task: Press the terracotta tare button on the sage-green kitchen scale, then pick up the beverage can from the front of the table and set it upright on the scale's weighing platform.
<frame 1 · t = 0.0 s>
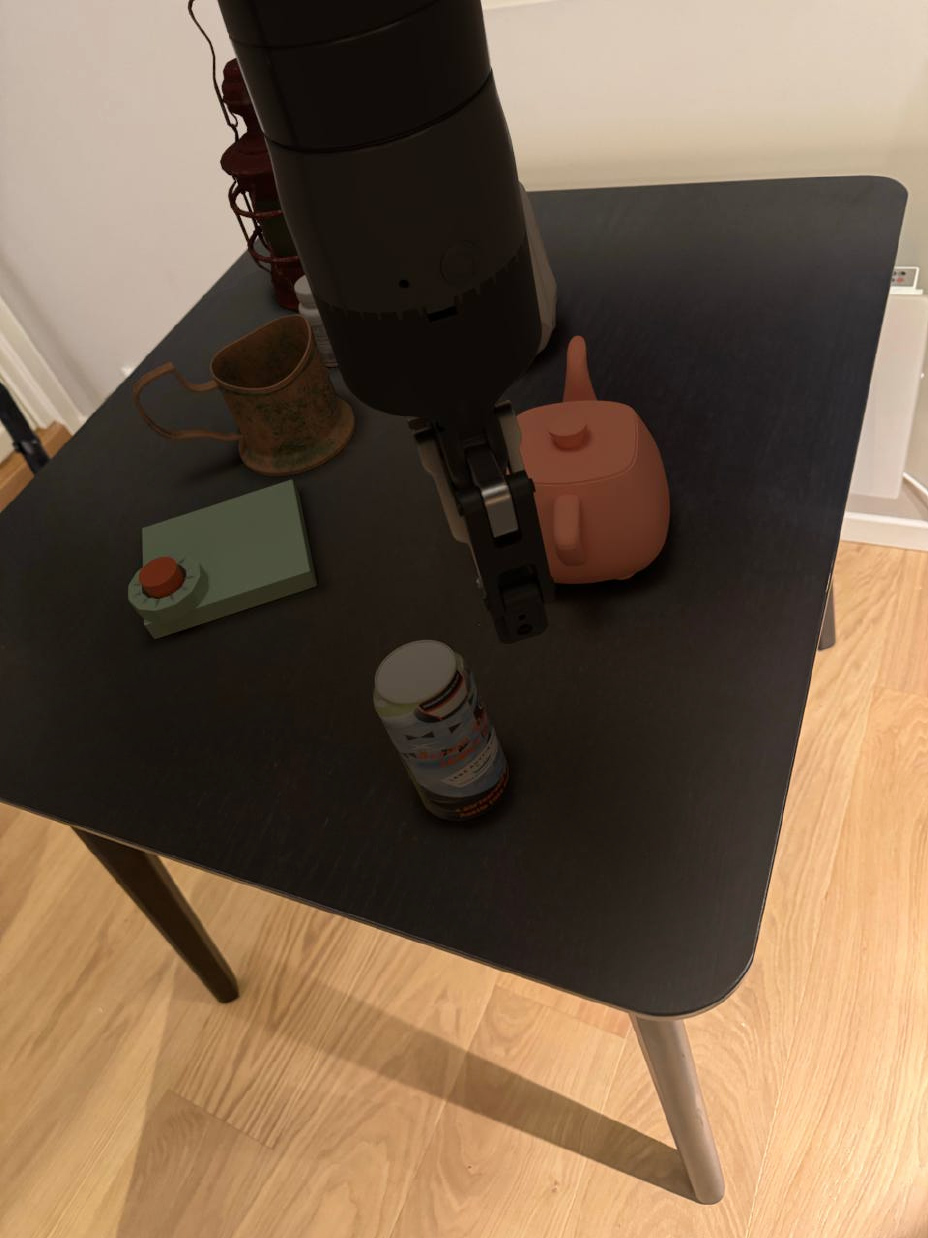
hand: (497, 566, 43), 22 cm above the table, tool pointing down, fingers open, 8 cm apart
pill bottle: (340, 355, 98), on the table
teapot: (585, 536, 74), on the table
beverage can: (463, 783, 62), on the table
tare button: (161, 577, 75), point 4 cm above the table, slide at 0.1 cm
vase: (493, 345, 93), on the table
mug: (269, 450, 90), on the table
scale: (230, 563, 80), on the table
lantern: (320, 286, 107), on the table
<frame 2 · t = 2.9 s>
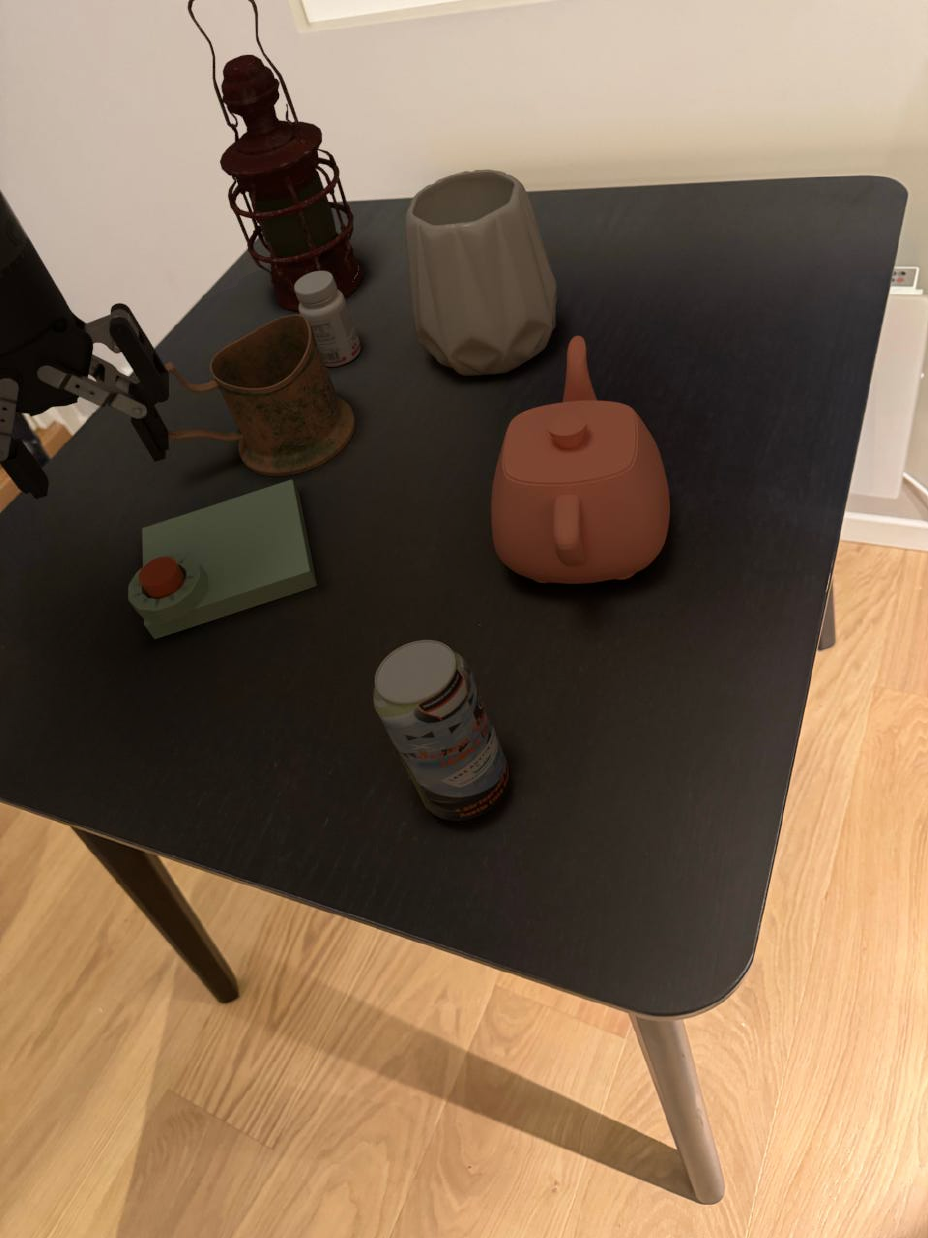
hand: (101, 472, 64), 16 cm above the table, tool pointing down, fingers open, 8 cm apart
nothing on the table moved.
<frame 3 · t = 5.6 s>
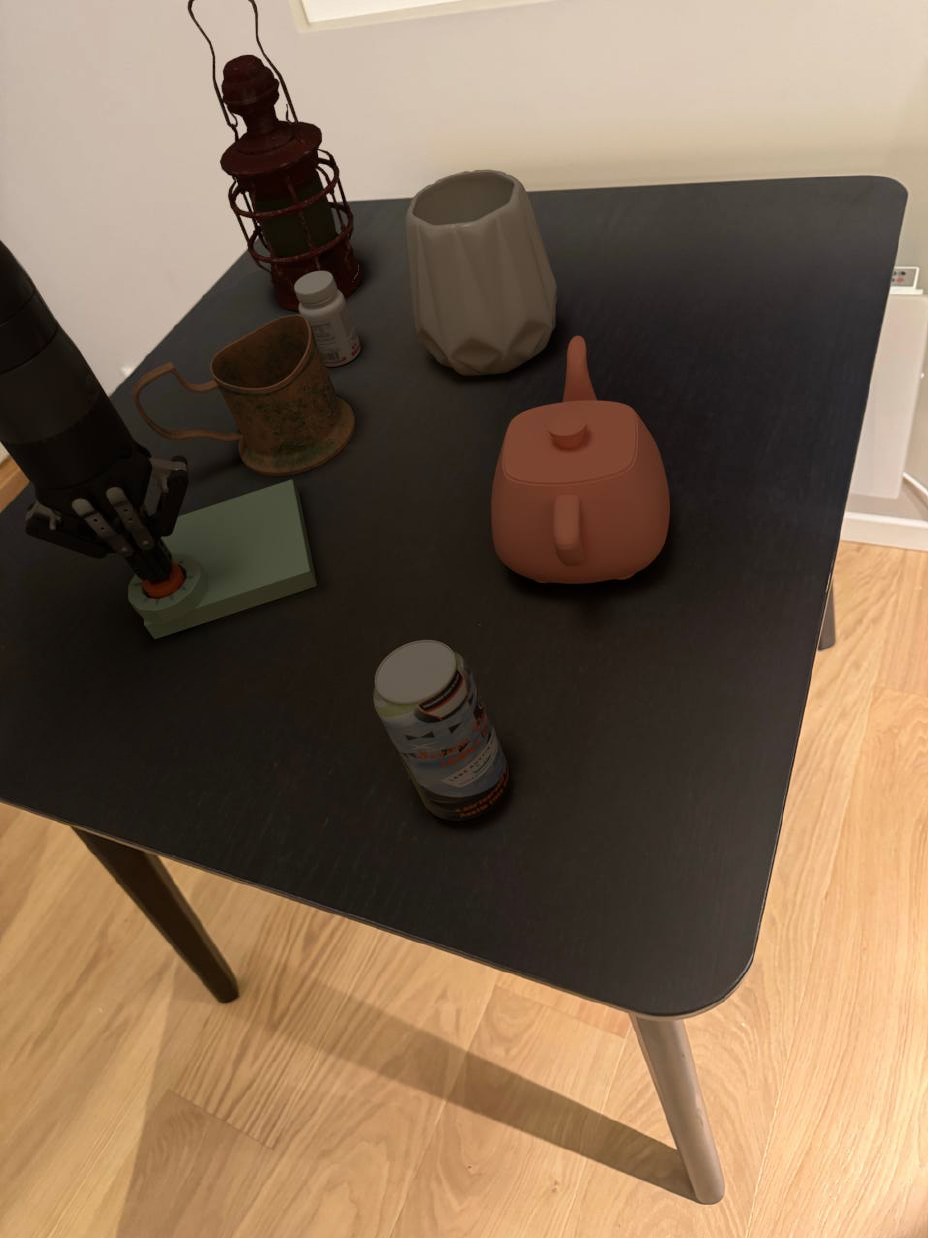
hand: (160, 574, 75), 4 cm above the table, tool pointing down, fingers closed
tare button: (164, 582, 75), point 3 cm above the table, slide at -0.5 cm, touching gripper
everything else where it was.
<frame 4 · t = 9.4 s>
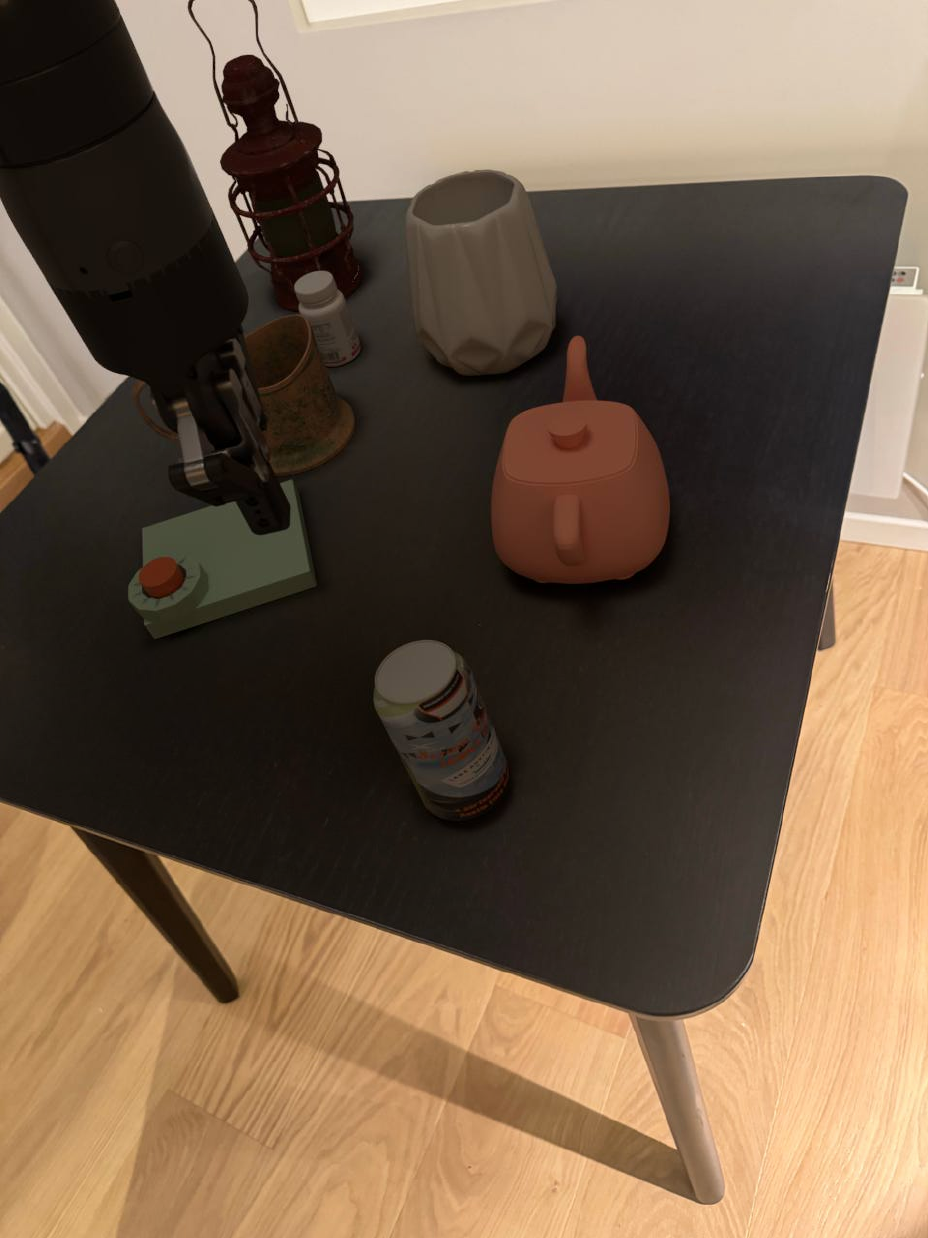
hand: (273, 523, 52), 20 cm above the table, tool pointing down, fingers closed
tare button: (161, 577, 75), point 4 cm above the table, slide at 0.1 cm
everything else where it was.
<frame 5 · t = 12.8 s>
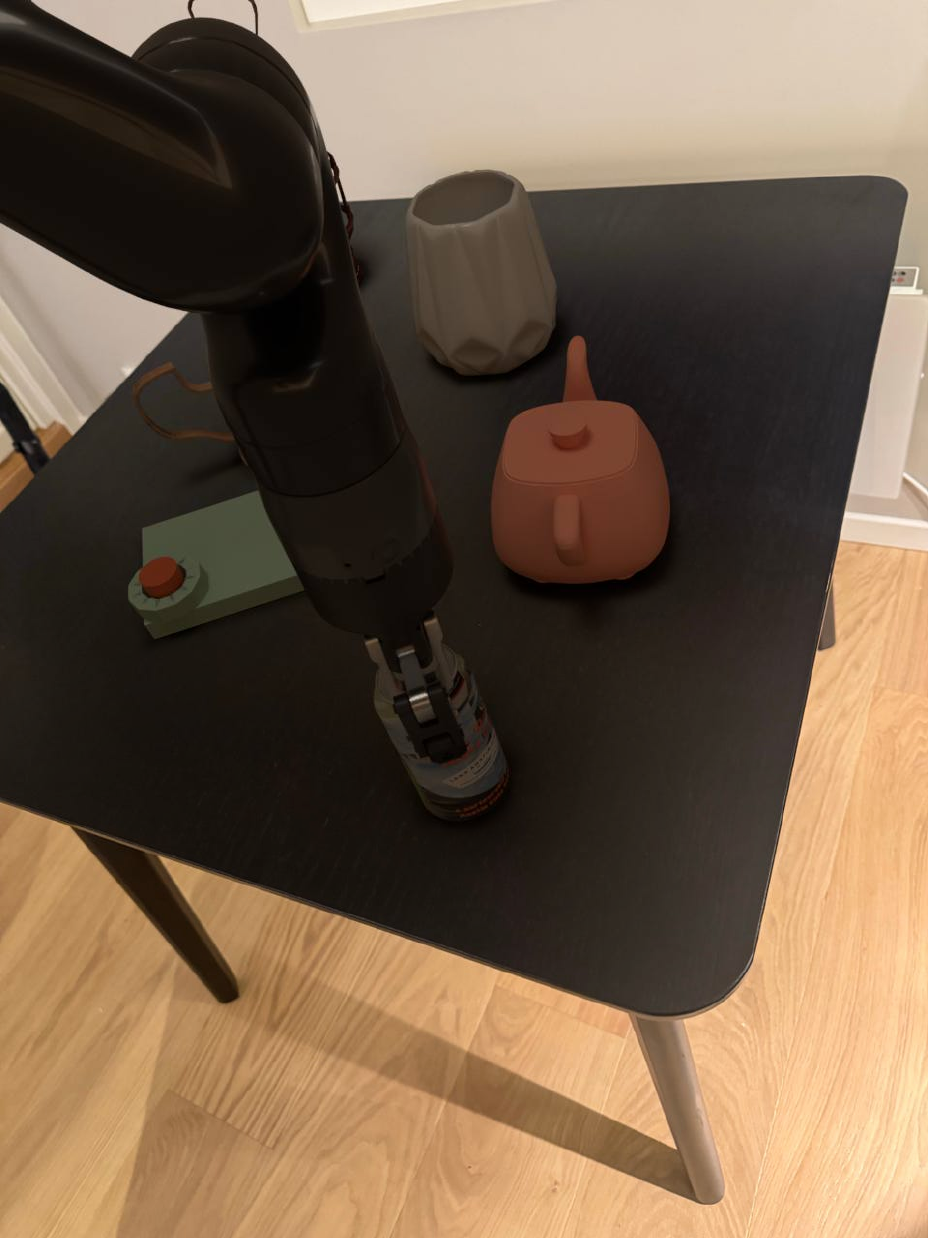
hand: (436, 709, 56), 8 cm above the table, tool pointing down, fingers closed on beverage can, 6 cm apart
beverage can: (463, 783, 62), on the table, touching gripper
everything else where it was.
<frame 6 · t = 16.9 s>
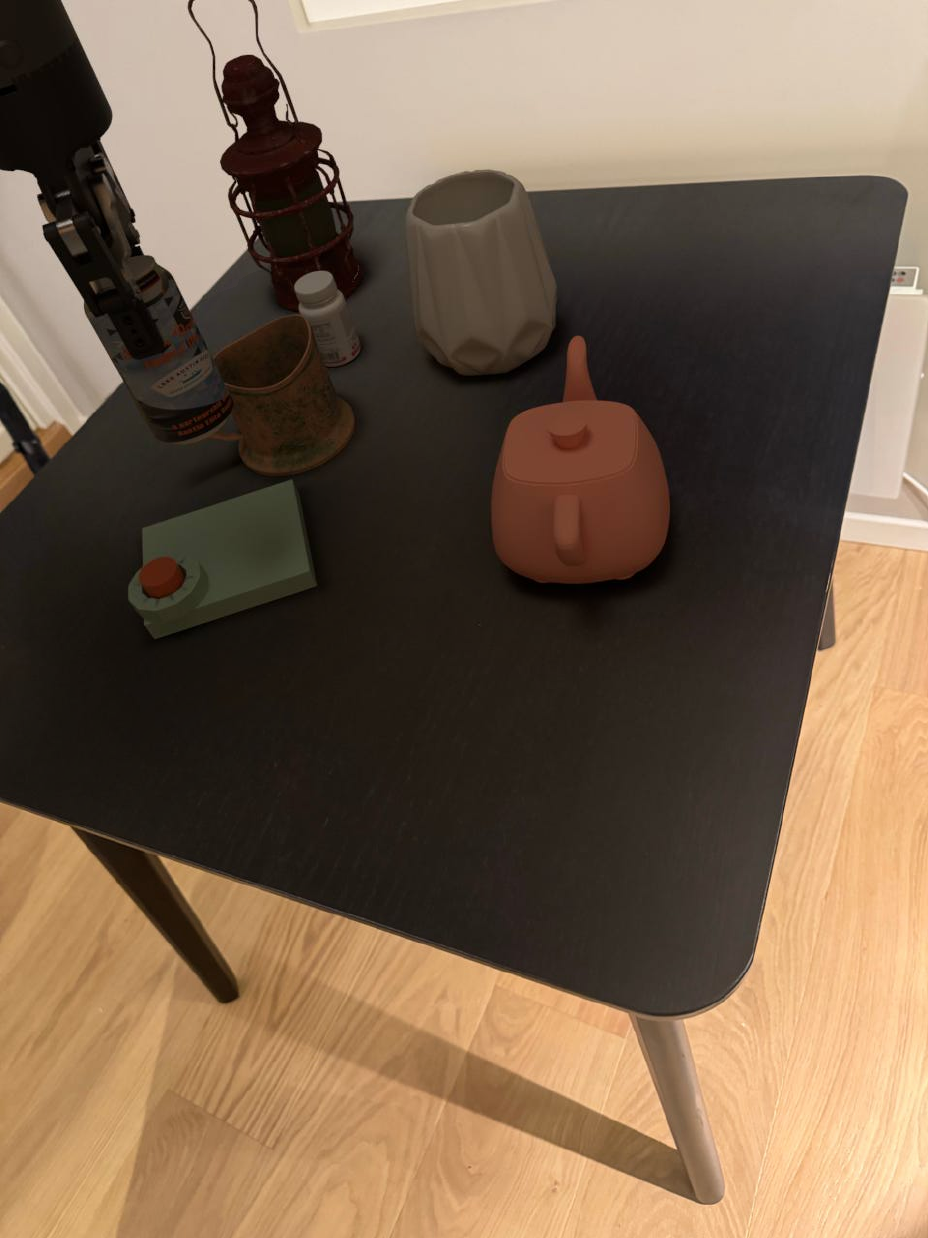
hand: (149, 326, 62), 23 cm above the table, tool pointing down, fingers closed on beverage can, 6 cm apart
beverage can: (198, 427, 67), point 15 cm above the table, touching gripper
everything else where it was.
when the fingers open (10 cm above the table, at t = 20.9 s): beverage can stays where it is, resting on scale.
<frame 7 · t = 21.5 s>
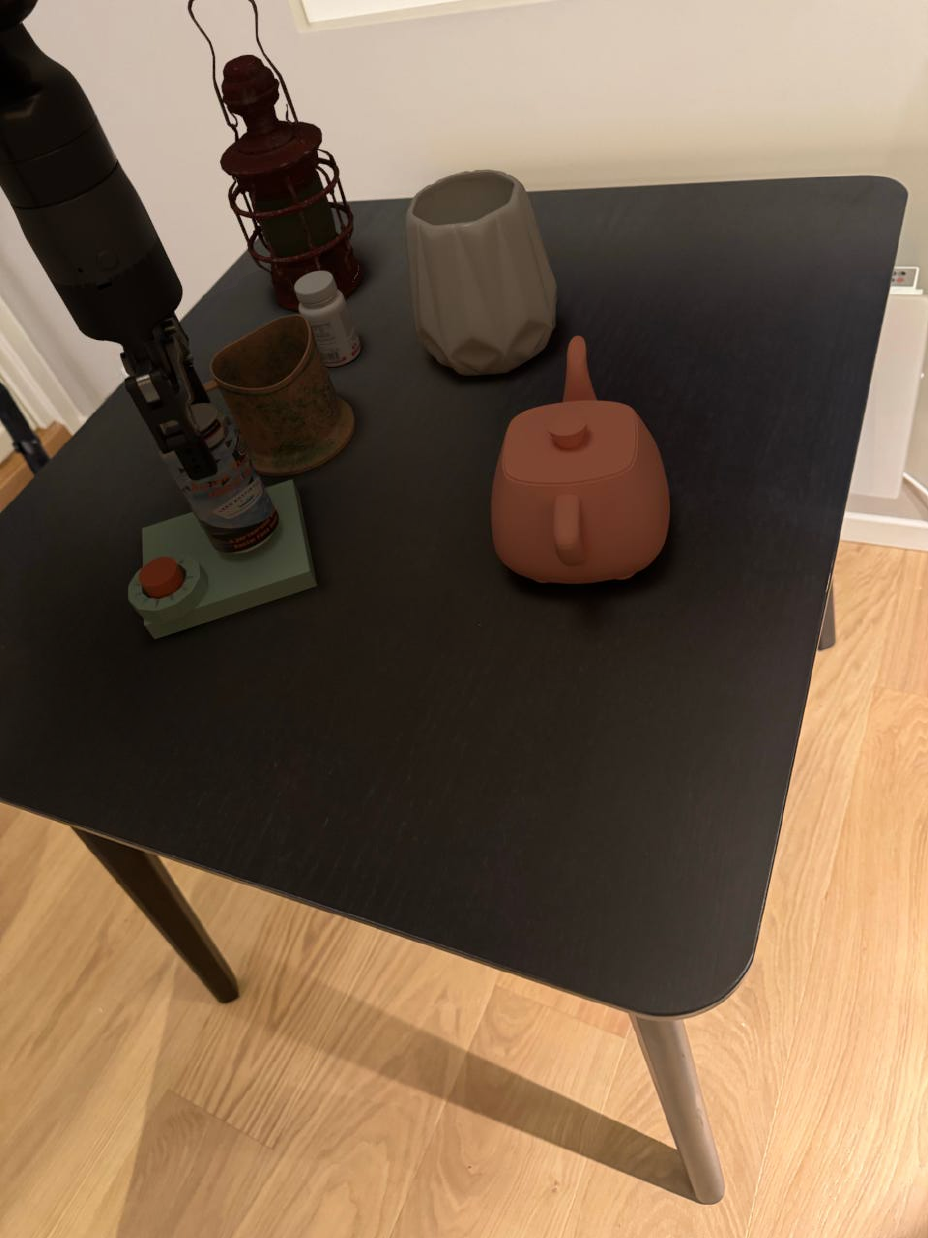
hand: (202, 441, 73), 11 cm above the table, tool pointing down, fingers open, 8 cm apart
beverage can: (248, 535, 79), point 2 cm above the table, touching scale
everything else where it was.
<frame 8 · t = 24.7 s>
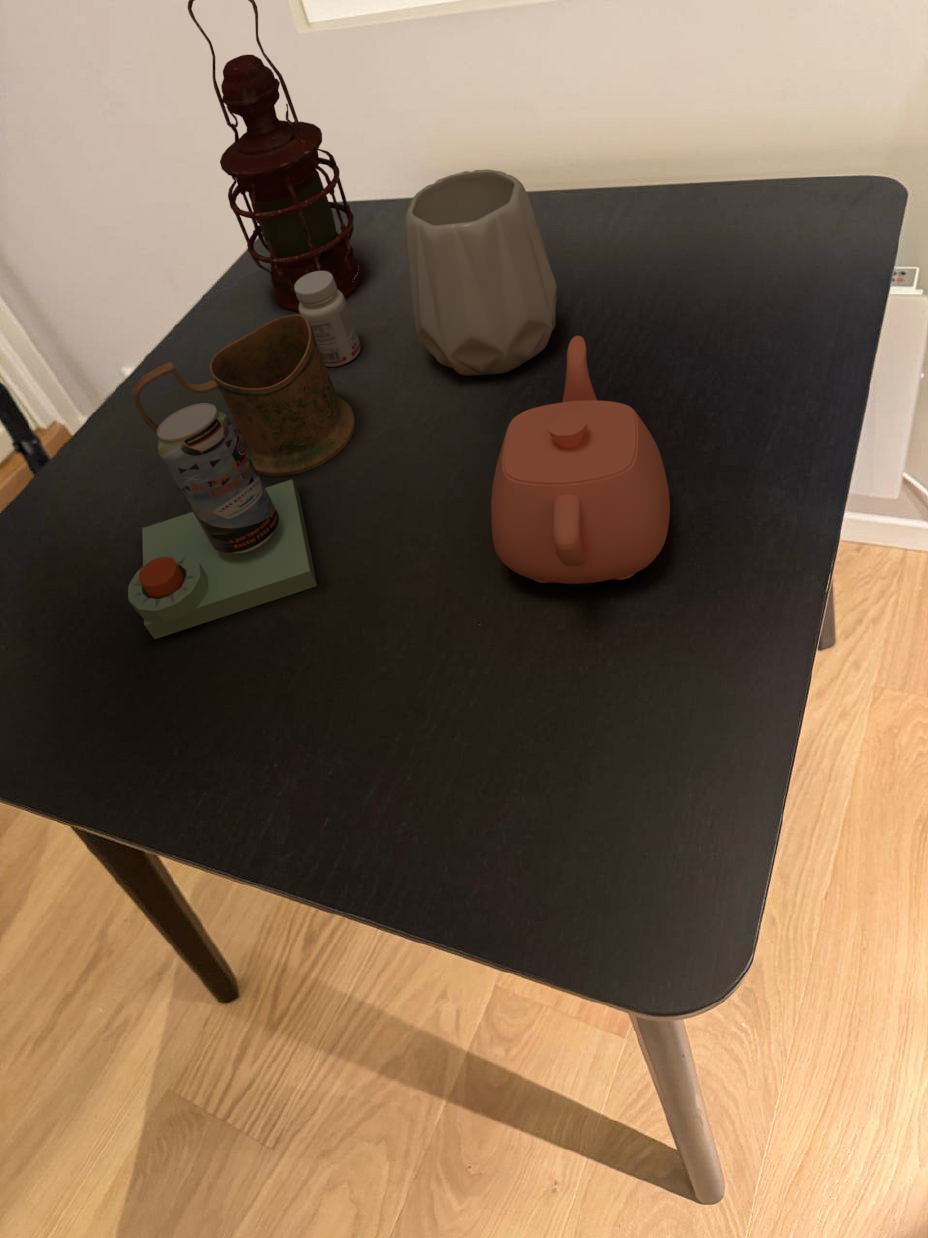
nothing on the table moved.
at the end: tare button pushed in 0.9 cm at the most during the clip, back to where it started at the end; beverage can inside the target area on the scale (0.5 cm from its centre), point 1.7 cm above the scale's base; beverage can tilted 0° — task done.
